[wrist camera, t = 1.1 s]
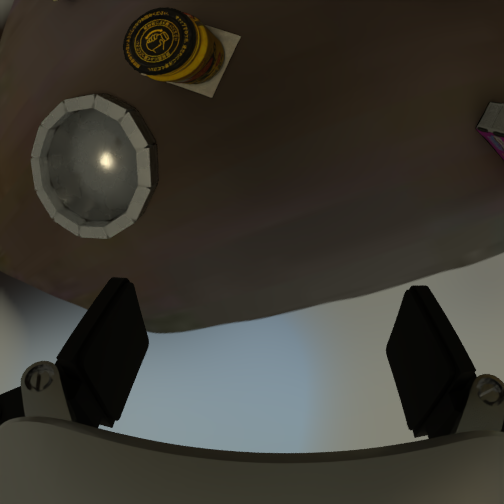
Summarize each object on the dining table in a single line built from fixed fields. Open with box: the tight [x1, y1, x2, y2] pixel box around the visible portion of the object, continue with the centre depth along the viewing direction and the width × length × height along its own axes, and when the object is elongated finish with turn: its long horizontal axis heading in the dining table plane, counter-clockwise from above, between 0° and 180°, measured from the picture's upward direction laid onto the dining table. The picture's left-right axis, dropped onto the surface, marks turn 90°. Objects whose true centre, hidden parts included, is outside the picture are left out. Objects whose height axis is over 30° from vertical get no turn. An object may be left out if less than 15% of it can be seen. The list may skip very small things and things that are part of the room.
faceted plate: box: [31, 94, 159, 239], centre depth 31 cm, size 17×17×2 cm
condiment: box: [123, 8, 241, 98], centre depth 21 cm, size 7×8×12 cm
